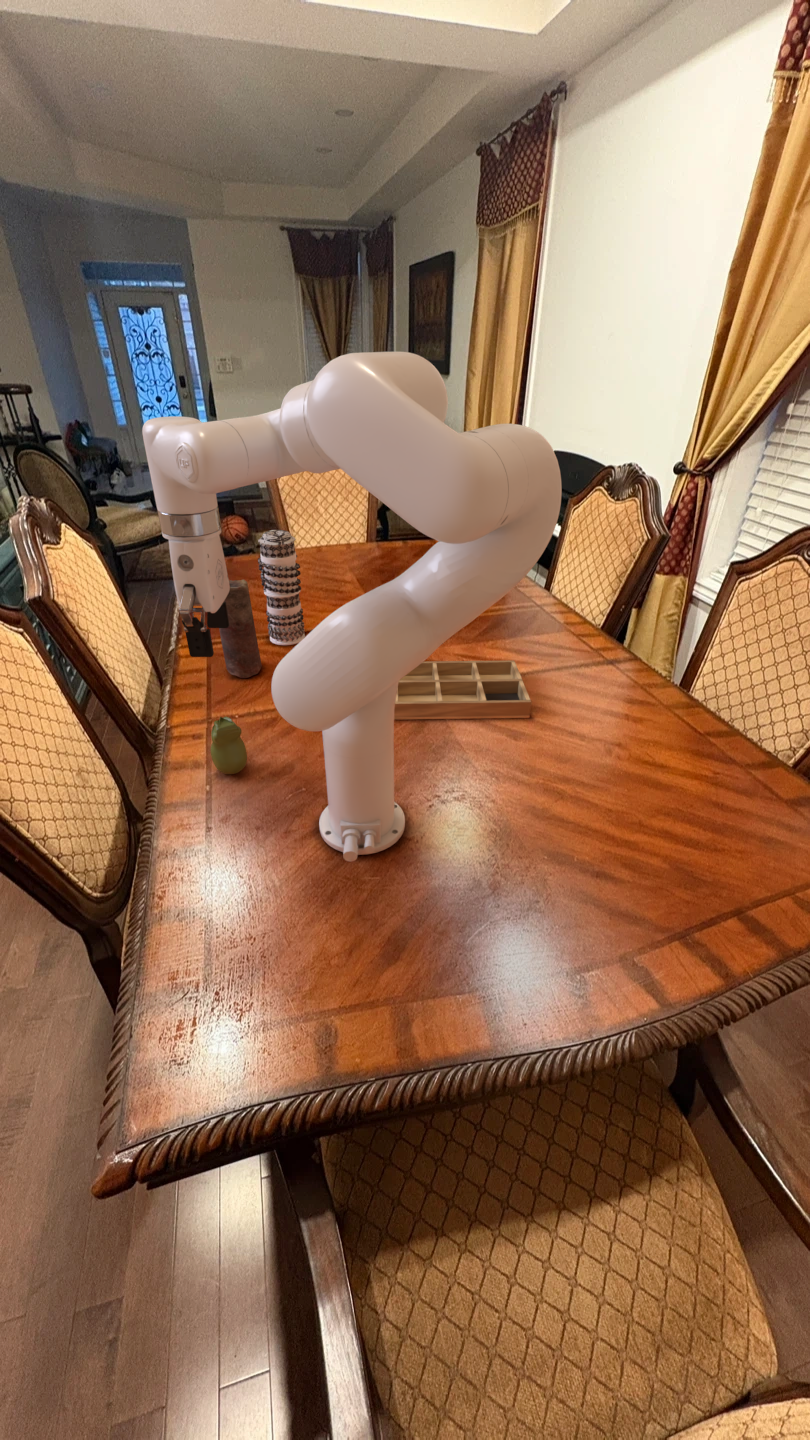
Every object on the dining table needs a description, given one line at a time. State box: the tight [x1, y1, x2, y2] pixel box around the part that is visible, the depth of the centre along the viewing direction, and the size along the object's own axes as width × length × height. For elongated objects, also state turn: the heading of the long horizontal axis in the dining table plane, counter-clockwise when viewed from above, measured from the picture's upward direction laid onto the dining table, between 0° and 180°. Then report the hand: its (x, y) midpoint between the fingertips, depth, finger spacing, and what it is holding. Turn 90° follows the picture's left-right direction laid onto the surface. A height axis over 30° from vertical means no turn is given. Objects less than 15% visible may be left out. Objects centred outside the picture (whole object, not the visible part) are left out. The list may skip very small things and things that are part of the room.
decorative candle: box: [257, 529, 306, 646], centre depth 139 cm, size 9×9×25 cm
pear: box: [210, 716, 248, 775], centre depth 98 cm, size 6×5×10 cm
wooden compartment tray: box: [394, 659, 532, 721], centre depth 121 cm, size 17×26×4 cm
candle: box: [218, 579, 263, 679], centre depth 126 cm, size 8×7×20 cm
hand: (210, 641), depth 89 cm, fingers open, 9 cm apart
